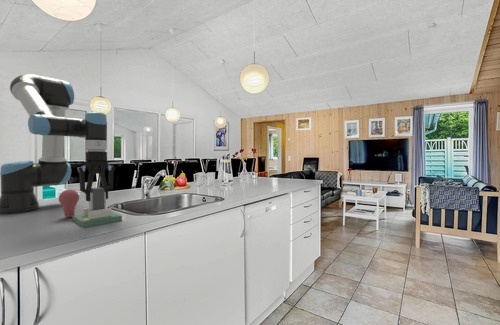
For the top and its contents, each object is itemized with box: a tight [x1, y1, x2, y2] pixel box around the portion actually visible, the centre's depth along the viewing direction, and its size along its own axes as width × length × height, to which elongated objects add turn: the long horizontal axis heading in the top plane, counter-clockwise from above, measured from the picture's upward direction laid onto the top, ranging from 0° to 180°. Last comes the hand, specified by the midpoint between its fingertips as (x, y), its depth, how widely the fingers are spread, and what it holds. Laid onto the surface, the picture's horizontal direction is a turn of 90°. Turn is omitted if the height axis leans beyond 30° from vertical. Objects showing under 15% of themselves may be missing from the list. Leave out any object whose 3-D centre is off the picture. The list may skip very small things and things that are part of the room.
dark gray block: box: [90, 186, 106, 210], centre depth 105 cm, size 4×4×8 cm
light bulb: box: [58, 189, 80, 218], centre depth 110 cm, size 7×7×12 cm
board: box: [72, 207, 123, 228], centre depth 105 cm, size 14×14×5 cm
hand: (97, 207), depth 105 cm, fingers closed on dark gray block, 4 cm apart
